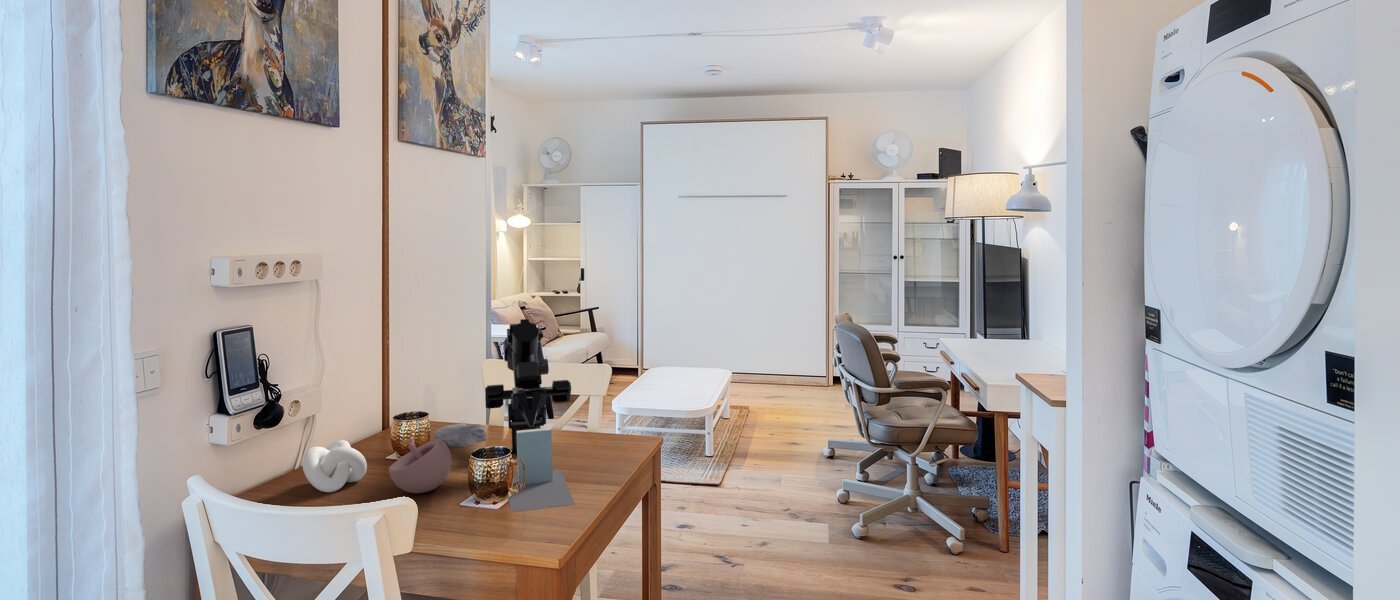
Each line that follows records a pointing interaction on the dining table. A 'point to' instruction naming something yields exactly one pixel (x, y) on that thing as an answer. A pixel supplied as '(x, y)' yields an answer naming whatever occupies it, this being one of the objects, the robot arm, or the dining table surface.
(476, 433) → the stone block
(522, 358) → the robot arm
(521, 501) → the mat
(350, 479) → the white knot sculpture
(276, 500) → the dining table surface
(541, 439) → the tile
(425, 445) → the mortar and pestle
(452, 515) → the dining table surface
